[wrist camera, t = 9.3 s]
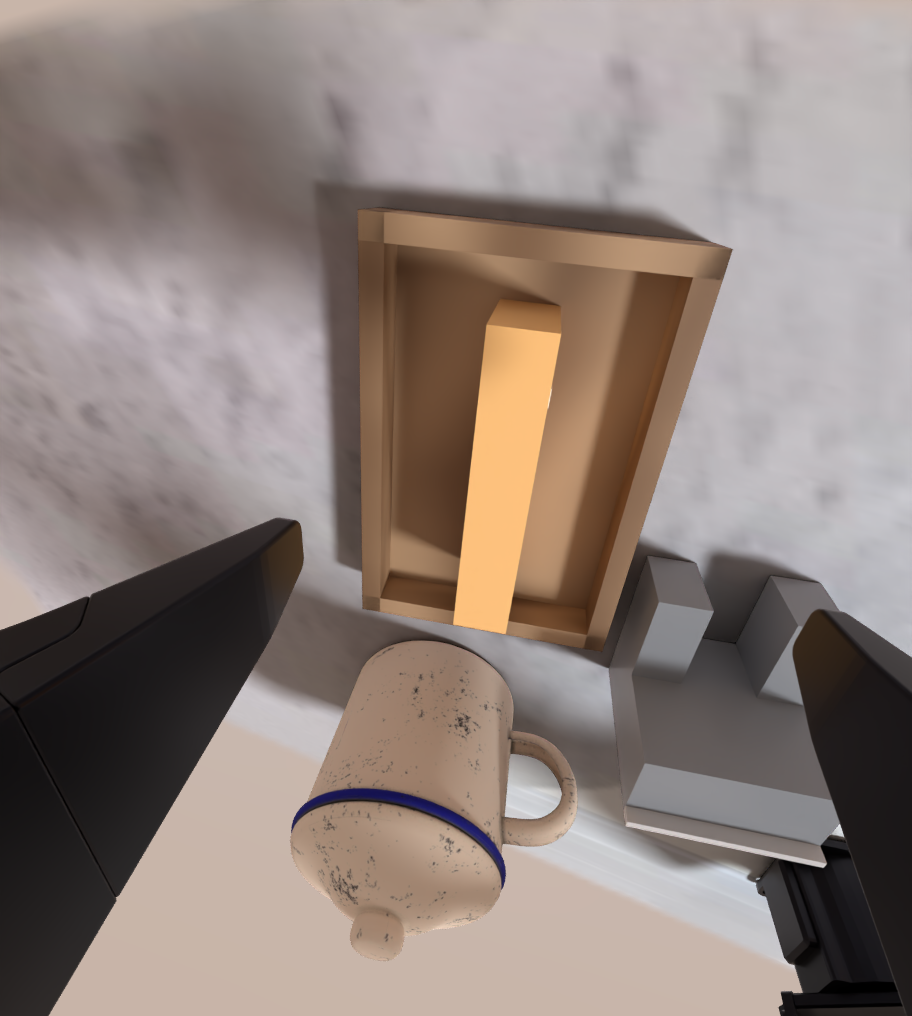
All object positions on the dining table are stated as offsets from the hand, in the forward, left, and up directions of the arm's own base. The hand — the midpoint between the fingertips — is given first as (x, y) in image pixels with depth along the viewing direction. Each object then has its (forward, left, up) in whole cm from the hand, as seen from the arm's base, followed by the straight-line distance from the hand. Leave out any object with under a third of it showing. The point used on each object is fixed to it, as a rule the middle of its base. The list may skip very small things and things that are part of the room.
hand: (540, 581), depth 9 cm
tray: (+1, +3, -12) cm, 12 cm away
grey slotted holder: (-9, +10, -12) cm, 18 cm away
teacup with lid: (+2, +18, -12) cm, 22 cm away
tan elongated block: (+1, +3, -11) cm, 11 cm away
